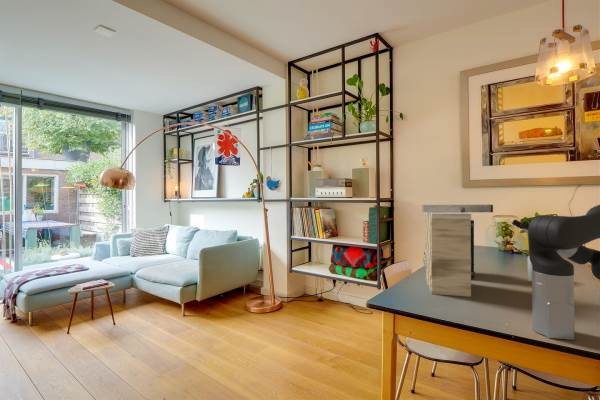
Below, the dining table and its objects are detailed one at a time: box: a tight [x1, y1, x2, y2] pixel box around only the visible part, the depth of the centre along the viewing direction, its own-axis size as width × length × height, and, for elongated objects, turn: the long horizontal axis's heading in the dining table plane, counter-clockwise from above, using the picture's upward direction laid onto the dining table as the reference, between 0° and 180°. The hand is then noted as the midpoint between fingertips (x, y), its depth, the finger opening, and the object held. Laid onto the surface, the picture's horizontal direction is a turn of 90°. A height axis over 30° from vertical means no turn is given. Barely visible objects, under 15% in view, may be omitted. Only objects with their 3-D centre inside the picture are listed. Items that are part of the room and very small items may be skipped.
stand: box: [424, 207, 472, 297], centre depth 132 cm, size 22×14×34 cm, turn 165°
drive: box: [422, 204, 494, 213], centre depth 131 cm, size 4×26×3 cm, turn 75°
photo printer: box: [526, 255, 532, 283], centre depth 142 cm, size 10×4×12 cm, turn 123°
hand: (517, 222), depth 125 cm, fingers open, 8 cm apart
